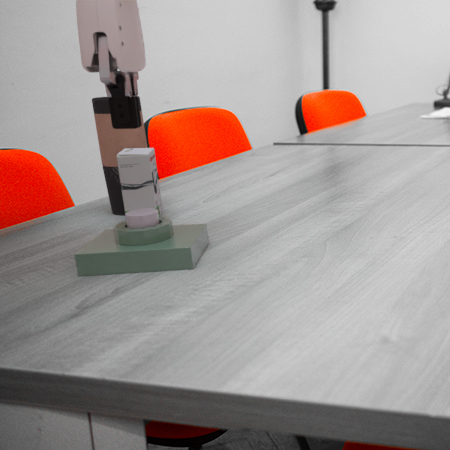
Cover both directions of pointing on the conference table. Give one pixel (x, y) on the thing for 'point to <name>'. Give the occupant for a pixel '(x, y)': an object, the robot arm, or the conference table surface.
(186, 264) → the green base with button
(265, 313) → the conference table surface
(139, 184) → the ink box
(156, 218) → the pump button
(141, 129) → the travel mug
